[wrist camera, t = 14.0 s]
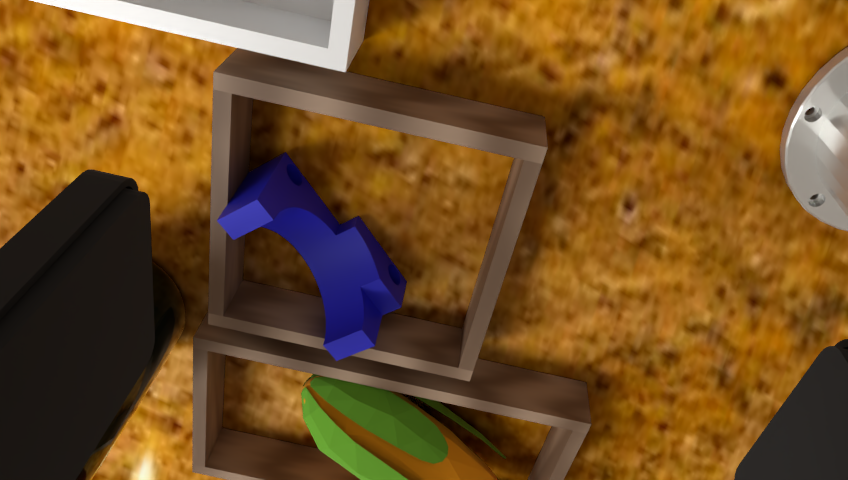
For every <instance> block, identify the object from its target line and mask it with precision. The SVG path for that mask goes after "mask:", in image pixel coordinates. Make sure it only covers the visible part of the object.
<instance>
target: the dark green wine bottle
mask: <svg viewBox="0 0 848 480" xmlns="http://www.w3.org/2000/svg"><path fill="white" fill-rule="evenodd" d="M152 274H153V300H154V327H155V343H154V348H153V352H152V355H151V357H150V360H149V362H148V364H147V366H146V367H145V369H144V371H143V372H142V374H141V375H140V377H139V379H138V380H137V382H136V383H135V385H134V387H133V388H132V390H131V392H130V393H129V395H128V396H127V398H126V400H125V401H124V403H123V404H122V406H121V408H120V409H119V411H118V412H117V414H116V416H115V417H114V419H113V421H112V422H111V424H110V425H109V427H108V429H107V430H106V432H105V433H104V435H103V437H102V438H101V440H100V442H99V443H98V445H97V446H96V448H95V450H94V451H93V453H92V454H91V456H90V458H89V459H88V461H87V462H86V464H85V466H84V467H83V469H82V471H81V472H80V474H79V475H78V477H77V479H76V480H92V478H93V477H94V475H95V474H96V472H97V471H98V469H99V468H100V466H101V465H102V463H103V462H104V460H105V458H106V457H107V455H108V454H109V452H110V450H111V449H112V447H113V446H114V444H115V442H116V441H117V439H118V438H119V436H120V435H121V433H122V431H123V430H124V428H125V427H126V425H127V423H128V422H129V420H130V419H131V417H132V415H133V414H134V412H135V411H136V409H137V407H138V406H139V404H140V403H141V401H142V399H143V398H144V396H145V395H146V393H147V391H148V390H149V388H150V387H151V385H152V383H153V382H154V380H155V379H156V377H157V375H158V374H159V372H160V370H161V369H162V367H163V365H164V364H165V362H166V360H167V359H168V357H169V355H170V354H171V352H172V351H173V349H174V347H175V345H176V343H177V341H178V339H179V338H180V336H181V333H182V331H183V329H184V326H185V318H186V315H185V308H184V302H183V299H182V296H181V294H180V291H179V290H178V288H177V287H176V285H175V283H174V282H173V280H172V279H171V278H170V277H169V276H168V275H167V274H166V272H165V271H164V270H162V269H161V268H160V267H159V266H158V265H157V264H155V263H154V262H153V261H152Z"/></svg>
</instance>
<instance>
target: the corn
mask: <svg viewBox="0 0 848 480" xmlns="http://www.w3.org/2000/svg"><path fill="white" fill-rule="evenodd" d="M303 386H304V387H303V391H302V393H301V395H302V407H303V419H304V421H305V423H306V425H307V427H308V429H309V431H310V433H311V435H312V437H313V439H314V441H315V443H316V445H317V447H318V449H319V450H320V451H321V452H323V453H324V454H326V455H327V456H328V457H330V458H331V459H333V460H334V461H335V462H337V463H338V464H339V465H341V466H342V467H344V468H345V469H346V470H348V471H349V472H351V473H352V474H353V475H355V476H356V477H358V478H359V479H360V480H498V479H497V477H496V476H495V475H494V474H493V472H492V471H491V470H490V468H489V467H488V466H487V465H486V464H485V463H484V462H483V461H482V460H481V459H480V458H479V457H478V456H477V455H476V454H475V453H474V452H473V451H472V450H470V449H469V448H468V447H467V446H466V445H465V444H464V443H463V442H462V441H461V440H460V439H459V438H458V437H457V436H456V435H455V434H454V433H453V432H452V431H451V430H450V429H448V428H447V427H446V426H444V425H443V424H442V423H440V422H439V421H437V420H436V419H435V418H433V417H432V416H431V415H429V414H428V413H427V412H425V411H424V410H422V409H421V408H420V407H418V406H417V405H416V404H414V403H413V402H411V401H410V400H409V399H407V398H406V397H405V396H403V395H402V394H400V393H398V392H394V391H389V390H385V389H380V388H376V387H371V386H366V385H362V384H357V383H353V382H348V381H344V380H339V379H334V378H330V377H325V376H321V375H316V374H313V375H312V376H311V377H310V378H309V379H308V380H306V382H305V383H304V385H303ZM415 397H416V398H418V399H419V400H421V401H423V402H424V403H426V404H428V405H429V406H431V407H433V408H434V409H436V410H437V411H439V412H441V413H442V414H444V415H446V416H447V417H449V418H450V419H452V420H453V421H455V422H456V423H458V424H459V425H461V426H462V427H464V428H465V429H466V430H468V431H469V432H471V433H472V434H474V435H475V436H477V437H478V438H480V439H481V440H482V441H484V442H485V443H486V444H487V445H488V446H490V447H491V448H492V449H493V450H494V451H495V452H497V453H498V454H499V455H500V456H501V457H503V458H505V459H506V456H504V455H503V454H502V453H501V452H500V451H499V450H498V449H497V448H496V447H495V446H494V445H493V444H492V443H491V442H490V441H488V440H487V439H486V438H485V437H484V436H483V435H482V434H481V433H480V432H478V431H477V430H476V429H474V428H473V427H472V426H470V425H469V424H468V423H466V422H465V421H464V420H462V419H461V418H460V417H458V416H457V415H456V414H454V413H453V412H452V411H450V410H449V409H448V408H446V407H445V406H444V405H442V404H441V403H440V402H438V401H435V400H430V399H426V398H421V397H417V396H415Z"/></svg>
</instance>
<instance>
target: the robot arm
mask: <svg viewBox="0 0 848 480" xmlns="http://www.w3.org/2000/svg"><path fill="white" fill-rule="evenodd" d="M810 108H811V109H810ZM808 109H810V110H809V111H807V110H808ZM806 111H807V112H806ZM780 157H781V168H782V171H783V174H784V177H785V180H786V183H787V185H788V186H789V188H790V190H791V191H792V193H793V195H794V196H795V198H796V199H797V200H798V202H799V203H800V204H801V205H802V207H803V208H804V209H805V210H806V211H807V212H809V213H810V214H812V215H813V216H814V217H816V218H817V219H818V220H820V221H821V222H824V223H826V224H828V225H830V226H833V227H835V228H837V229H841V230H845V231H848V47H847V48H845V49H844V50H842V51H841V52H839V53H838V54H837V55H836V56H834V57H833V58H832V59H831V60H830V61H829V62H828V63H827V64H825V65H824V66H823V67H822V68H821V69H820V70H819V71H818V72H817V73H816V74H815V75H814V77H813V78H812V79H811V80H810V81H809V82H808V84H807V85H806V86H805V87H804V88H803V90H802V91H801V93H800V95H799V96H798V98H797V100H796V101H795V103H794V105H793V106H792V108H791V110H790V112H789V115H788V118H787V120H786V123H785V126H784V128H783V133H782V139H781V145H780ZM154 343H155V327H154V300H153V274H152V247H151V221H150V201H149V197H148V194H146V193H145V192H141V191H138V186H137V184H136V182H135V180H133V179H132V178H128V177H123V176H119V175H114V174H110V173H105V172H101V171H96V170H86V171H85V172H83V173H82V174H81V175H79V176H78V177H77V178H76V179H75V180H74V181H73V182H72V183H71V184H70V185H69V186H68V187H66V188H65V189H64V190H63V191H62V192H61V193H60V194H59V195H58V196H57V197H56V198H55V199H53V200H52V201H51V202H50V203H49V204H48V205H47V206H46V207H45V208H44V209H43V210H42V211H40V212H39V213H38V214H37V215H36V216H35V217H34V218H33V219H32V220H31V221H30V222H29V223H27V224H26V225H25V226H24V227H23V228H22V229H21V230H20V231H19V232H18V233H17V234H16V235H15V236H13V237H12V238H11V239H10V240H9V241H8V242H7V243H6V244H5V245H4V246H3V247H2V248H0V480H76V479H77V477H78V475H79V474H80V472H81V471H82V469H83V467H84V466H85V464H86V462H87V461H88V459H89V458H90V456H91V454H92V453H93V451H94V450H95V448H96V446H97V445H98V443H99V442H100V440H101V438H102V437H103V435H104V433H105V432H106V430H107V429H108V427H109V425H110V424H111V422H112V421H113V419H114V417H115V416H116V414H117V412H118V411H119V409H120V408H121V406H122V404H123V403H124V401H125V400H126V398H127V396H128V395H129V393H130V392H131V390H132V388H133V387H134V385H135V383H136V382H137V380H138V379H139V377H140V375H141V374H142V372H143V371H144V369H145V367H146V366H147V364H148V362H149V360H150V357H151V355H152V352H153V348H154ZM734 480H848V339H844V340H842V341H840V342H838V343H837V344H836V345H835V346H829V347H827V348H825V349H824V350H823V351H822V352H821V353H820V354H819V355H818V357H817V358H816V359H815V361H814V362H813V364H812V365H811V366H810V368H809V369H808V370H807V372H806V373H805V375H804V376H803V377H802V379H801V380H800V381H799V383H798V384H797V386H796V387H795V388H794V390H793V391H792V393H791V394H790V395H789V397H788V398H787V399H786V401H785V402H784V404H783V405H782V406H781V408H780V409H779V410H778V412H777V413H776V415H775V416H774V417H773V419H772V420H771V421H770V423H769V424H768V426H767V427H766V428H765V430H764V431H763V432H762V434H761V435H760V437H759V438H758V439H757V441H756V442H755V444H754V445H753V446H752V448H751V449H750V450H749V452H748V453H747V455H746V456H745V457H744V459H743V460H742V461H741V463H740V464H739V466H738V468H737V470H736V473H735V479H734Z"/></svg>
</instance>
